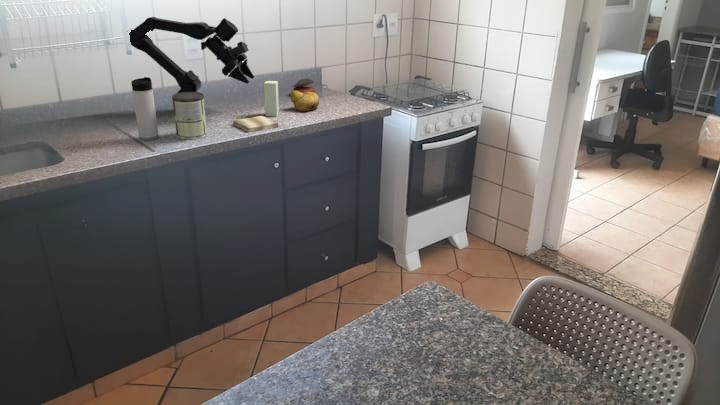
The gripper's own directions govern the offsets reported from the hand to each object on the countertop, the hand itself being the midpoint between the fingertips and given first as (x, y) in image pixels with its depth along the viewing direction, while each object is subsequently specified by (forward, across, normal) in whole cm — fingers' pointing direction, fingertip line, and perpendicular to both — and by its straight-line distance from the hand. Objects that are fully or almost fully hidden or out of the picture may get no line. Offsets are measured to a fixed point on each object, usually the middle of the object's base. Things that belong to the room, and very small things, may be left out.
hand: (251, 80), depth 211 cm
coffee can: (-1, -30, +20) cm, 36 cm away
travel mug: (-10, -35, +29) cm, 47 cm away
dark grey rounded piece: (+21, +36, -2) cm, 42 cm away
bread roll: (+24, +11, -5) cm, 27 cm away
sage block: (+15, 0, +4) cm, 15 cm away
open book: (+13, -16, +6) cm, 21 cm away
